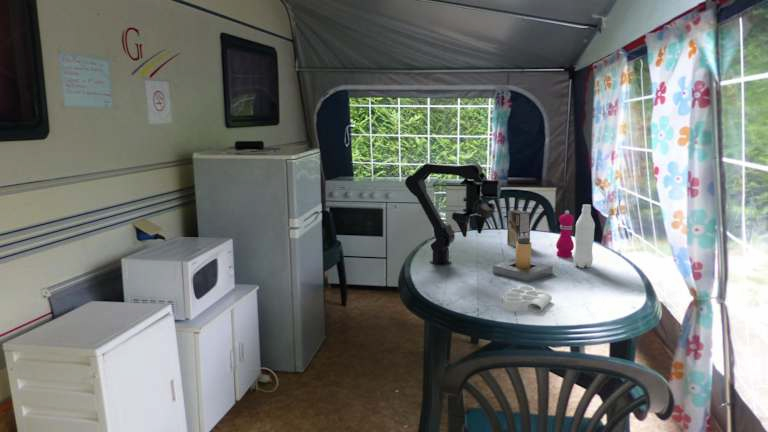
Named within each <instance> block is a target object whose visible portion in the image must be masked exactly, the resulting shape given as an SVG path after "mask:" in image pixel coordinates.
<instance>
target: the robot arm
mask: <svg viewBox="0 0 768 432" xmlns="http://www.w3.org/2000/svg"><path fill="white" fill-rule="evenodd" d="M431 174H435V175H436V174H437V175H449V176H457V177H460V178H462V179H464V180H462V181H461V182H460V184H461V185H465V197H464V198H463V202H465V208H462V211H461V210H459V211H453V213H452V214H451V220H454V222H455V223H456V224H457V226H458V228H459V230H460V233H461V234H462V237H463V238H466V237H467V235H468V224H469V223H470V222H471V220H470V219H471V217H475V218H474V219H475V224H476V231H477V233H478V234H481V233H482V231H483V228H484V225H485V223H486V221H487V220H488V219H490V218H491V217H492V216H493V215H494V214H493V213H495V212H496V206H495V204H494V203H493V202H490V203H484V199H483V198H481V195H482V196H483V197H484V198H486V197H487V198H496V199H499V198H500V196H501V192H502V187H501V183H500V179H488V178H487V176H486V174H485V173H484V172H483V167H482V165H480V164H478V163H469V164H467V163H466V164H460V165H459V164H458V165H456V164H444V163H432V162H428V163H425V164H423V165H422V167H421V168H419V169H418V170H417V171H415V172H414V173H413V174H411V175H409V176H407V177H406V179H405V181H404V184H405V186H406V189H408V191H409V192H410V193H411V194H412V195H414V197H416V198H417V200H418V202H419V204H420V205H421V208H422V210H423V211H424V214H425V215H426V217H427V219H428V220H429V223H430V224H431V226H432V229H433V235H434V238H435V240H434V241H433V242H432V243H431V244H430V248H431V250H432V260H430V261H429V263H430V264H431V263H432V264H434V265H438V266H443V265H448V264H451V263H452V261H451V260H450V250H449V249H450V248H449V247H450V245H451V244H452V243H453V242H454V241H455V237H456V236H455V231H454V230H453V228H452V226H451V224H450V223H449V224H446V223H445V222H444V221H443V220H442V217H441V215H440V214H439V211H438V210H437V208H436V206H435V205H434V203H433V201H432V199H431V197H430V196H429V194H428V192H427V185H426V182H425V181H426V180H427V178H429V176H430V175H431Z"/></svg>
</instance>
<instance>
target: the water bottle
mask: <svg viewBox="0 0 768 432" xmlns="http://www.w3.org/2000/svg"><path fill="white" fill-rule="evenodd" d="M591 207H592V205H591V204H588V203H587V204H582V208H581V214H580V215H579V217H578V219H577V221H576V223H575V235H574V240H575V243H574V244H575V245H574V249H575V250H574V254H573V256H572V258H573V264H574V266H575V267H579V268H580V269H584V268H585V267H586V268H587V267H589V268H590V267H591V266H592V264H593V260H594V259H593V258H594V257H593V245H594V240H595V238H594V237H595V227H596V224H595V221H594V218H593V217H592V213H591V212H592V208H591Z"/></svg>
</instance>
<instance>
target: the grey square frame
mask: <svg viewBox="0 0 768 432" xmlns="http://www.w3.org/2000/svg"><path fill="white" fill-rule="evenodd" d="M515 261H516V257H515V258H512V259H509V260H506V261H502V262H499V263H496V264H493V265H492V274H495V275H499V276H503V277H508V278H510V279H515V280H518V281H521V282H522V281H523V282H526V283H531V282H533V281H534V282H535V281H537V280H539V279H541V278H544V277H547V276H549V275H551V274H552V275H553V267H554V266H553V265H550V264H545V263H541V262H537V261H533V260H531V264H530V268H529V269H527V270H525V269H521V268H517V267H515Z"/></svg>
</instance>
